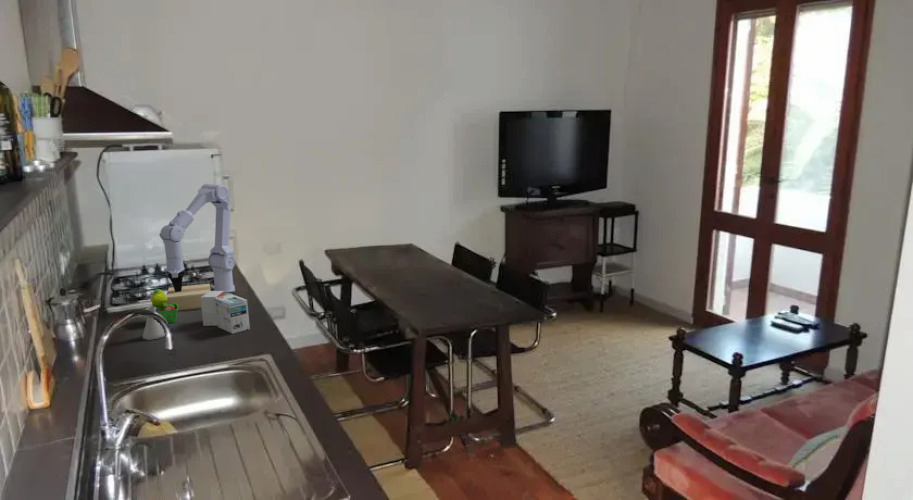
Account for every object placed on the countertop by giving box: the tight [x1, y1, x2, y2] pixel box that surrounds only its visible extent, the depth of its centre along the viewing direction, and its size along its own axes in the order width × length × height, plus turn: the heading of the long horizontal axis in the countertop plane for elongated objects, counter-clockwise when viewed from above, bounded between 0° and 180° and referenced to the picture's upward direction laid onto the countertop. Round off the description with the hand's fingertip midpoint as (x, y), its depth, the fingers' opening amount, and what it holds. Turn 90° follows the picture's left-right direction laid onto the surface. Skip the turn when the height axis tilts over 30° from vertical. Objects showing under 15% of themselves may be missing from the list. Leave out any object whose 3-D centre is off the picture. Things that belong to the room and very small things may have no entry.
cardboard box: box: [167, 289, 212, 312], centre depth 247 cm, size 14×15×5 cm
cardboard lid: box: [165, 283, 211, 299], centre depth 247 cm, size 14×15×1 cm
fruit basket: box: [142, 288, 178, 324], centre depth 227 cm, size 11×9×11 cm
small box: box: [200, 290, 226, 327], centre depth 226 cm, size 8×6×10 cm
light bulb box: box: [215, 293, 251, 334], centre depth 220 cm, size 11×7×11 cm, turn 47°
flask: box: [142, 306, 166, 341], centre depth 213 cm, size 7×7×10 cm
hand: (178, 291), depth 245 cm, fingers closed, pressing on cardboard lid
